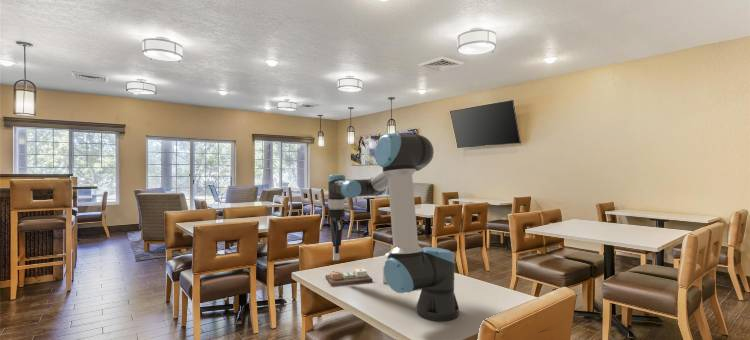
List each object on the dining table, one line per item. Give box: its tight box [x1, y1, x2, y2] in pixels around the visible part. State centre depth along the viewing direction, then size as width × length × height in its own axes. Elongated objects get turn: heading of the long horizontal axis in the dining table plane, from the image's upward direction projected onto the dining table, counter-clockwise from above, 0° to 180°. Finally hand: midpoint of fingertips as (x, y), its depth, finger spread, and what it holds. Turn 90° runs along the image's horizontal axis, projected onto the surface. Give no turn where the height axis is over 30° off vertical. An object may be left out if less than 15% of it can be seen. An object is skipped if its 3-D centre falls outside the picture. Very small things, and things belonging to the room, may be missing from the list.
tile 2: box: [342, 271, 355, 279], centre depth 173 cm, size 4×4×3 cm
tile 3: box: [329, 270, 343, 280], centre depth 171 cm, size 4×4×3 cm
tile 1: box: [354, 268, 368, 278], centre depth 175 cm, size 4×4×3 cm
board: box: [325, 271, 373, 287], centre depth 173 cm, size 12×19×2 cm, turn 109°
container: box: [382, 252, 390, 285], centre depth 171 cm, size 8×8×13 cm
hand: (336, 259), depth 171 cm, fingers closed
